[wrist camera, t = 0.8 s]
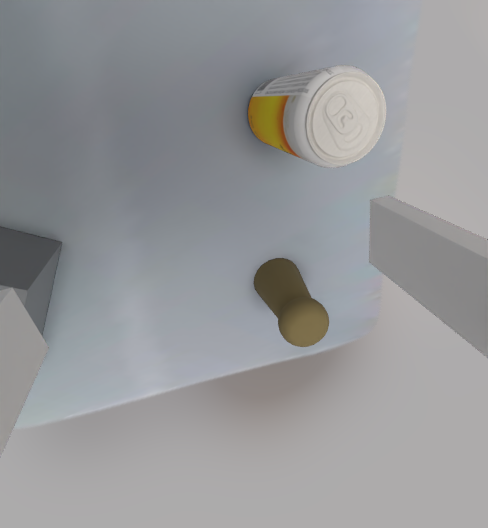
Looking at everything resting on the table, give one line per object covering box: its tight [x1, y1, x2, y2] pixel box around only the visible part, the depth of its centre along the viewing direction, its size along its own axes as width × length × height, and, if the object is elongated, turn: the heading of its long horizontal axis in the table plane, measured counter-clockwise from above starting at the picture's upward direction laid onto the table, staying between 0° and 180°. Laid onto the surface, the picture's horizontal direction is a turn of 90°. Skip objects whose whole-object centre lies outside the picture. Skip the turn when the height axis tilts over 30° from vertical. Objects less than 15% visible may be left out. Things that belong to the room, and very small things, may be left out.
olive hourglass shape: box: [254, 258, 329, 347], centre depth 38 cm, size 6×6×11 cm
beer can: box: [248, 65, 386, 168], centre depth 27 cm, size 6×6×15 cm
